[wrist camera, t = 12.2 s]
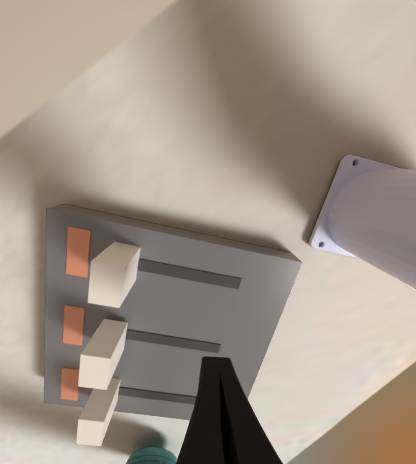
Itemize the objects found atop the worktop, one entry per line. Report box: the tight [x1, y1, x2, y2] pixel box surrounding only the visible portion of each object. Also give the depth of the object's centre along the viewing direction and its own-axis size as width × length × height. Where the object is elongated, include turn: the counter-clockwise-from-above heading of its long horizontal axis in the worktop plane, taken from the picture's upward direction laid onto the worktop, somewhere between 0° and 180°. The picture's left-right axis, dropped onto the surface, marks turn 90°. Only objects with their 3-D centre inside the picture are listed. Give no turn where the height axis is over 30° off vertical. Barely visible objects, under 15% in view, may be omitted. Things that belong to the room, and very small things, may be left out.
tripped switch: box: [78, 319, 128, 390], centre depth 16 cm, size 2×3×4 cm, turn 167°
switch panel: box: [44, 204, 302, 446], centre depth 18 cm, size 20×20×6 cm
